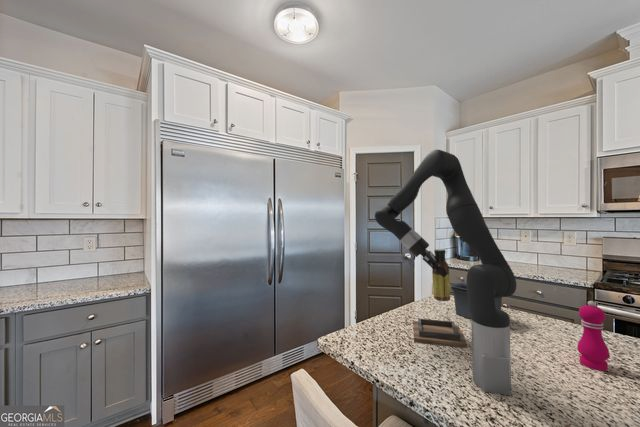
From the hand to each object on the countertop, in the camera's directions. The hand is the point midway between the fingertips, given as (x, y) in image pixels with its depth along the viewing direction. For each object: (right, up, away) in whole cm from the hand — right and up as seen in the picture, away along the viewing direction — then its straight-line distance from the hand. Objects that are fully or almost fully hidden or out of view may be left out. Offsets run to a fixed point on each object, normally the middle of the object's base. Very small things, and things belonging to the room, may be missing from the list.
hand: (445, 273), depth 110 cm
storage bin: (+24, -25, +19) cm, 39 cm away
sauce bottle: (-1, -11, +1) cm, 11 cm away
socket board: (-3, -24, 0) cm, 25 cm away
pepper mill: (+36, -24, -23) cm, 49 cm away
